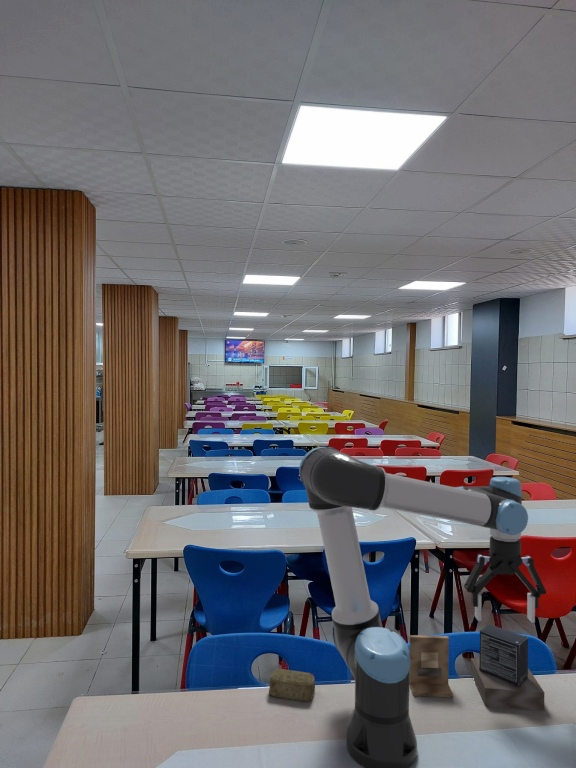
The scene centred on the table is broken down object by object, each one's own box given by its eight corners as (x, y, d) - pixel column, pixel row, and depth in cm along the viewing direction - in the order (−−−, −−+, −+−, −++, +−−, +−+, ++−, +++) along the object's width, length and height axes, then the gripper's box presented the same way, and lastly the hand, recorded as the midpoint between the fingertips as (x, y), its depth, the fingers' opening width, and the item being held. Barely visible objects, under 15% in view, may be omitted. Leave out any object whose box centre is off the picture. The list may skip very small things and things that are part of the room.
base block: (485, 708, 125) (485, 688, 125) (470, 676, 139) (470, 658, 139) (544, 712, 123) (544, 692, 123) (523, 680, 137) (523, 661, 137)
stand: (413, 695, 129) (413, 644, 129) (408, 682, 135) (408, 633, 135) (452, 697, 128) (453, 645, 128) (446, 683, 134) (446, 634, 134)
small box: (529, 677, 130) (529, 636, 130) (519, 687, 125) (519, 645, 125) (489, 661, 137) (489, 622, 137) (478, 670, 133) (478, 630, 133)
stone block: (312, 704, 125) (312, 684, 125) (267, 698, 127) (267, 678, 127) (315, 690, 131) (316, 671, 131) (272, 685, 133) (272, 666, 133)
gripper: (461, 540, 128) (460, 624, 128) (561, 543, 127) (560, 627, 127) (452, 532, 135) (451, 611, 135) (547, 534, 135) (546, 614, 134)
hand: (504, 619), depth 131 cm, fingers open, 13 cm apart
